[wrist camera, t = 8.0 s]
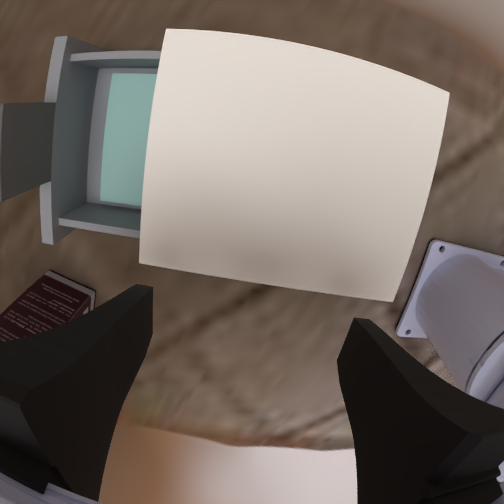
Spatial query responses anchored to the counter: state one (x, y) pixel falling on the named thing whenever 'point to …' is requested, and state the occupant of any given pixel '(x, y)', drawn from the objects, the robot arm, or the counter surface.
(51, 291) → the supplement box
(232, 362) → the counter surface
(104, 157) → the tray
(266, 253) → the sleeve
